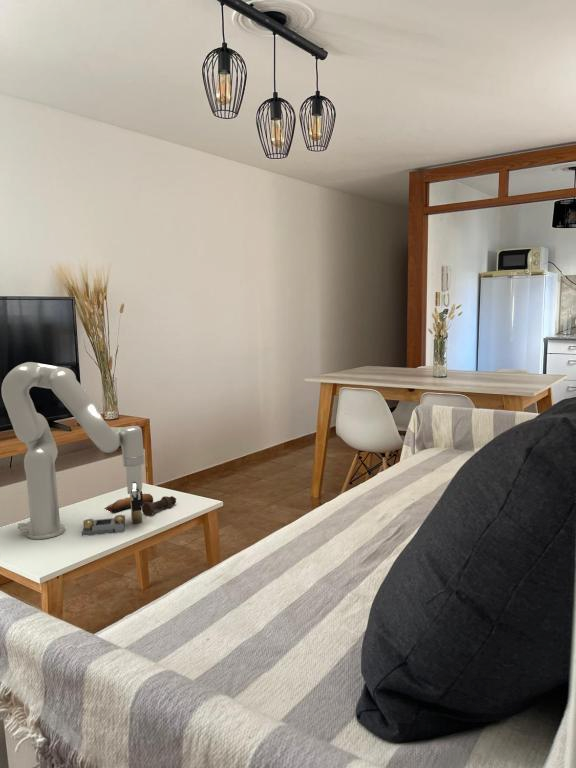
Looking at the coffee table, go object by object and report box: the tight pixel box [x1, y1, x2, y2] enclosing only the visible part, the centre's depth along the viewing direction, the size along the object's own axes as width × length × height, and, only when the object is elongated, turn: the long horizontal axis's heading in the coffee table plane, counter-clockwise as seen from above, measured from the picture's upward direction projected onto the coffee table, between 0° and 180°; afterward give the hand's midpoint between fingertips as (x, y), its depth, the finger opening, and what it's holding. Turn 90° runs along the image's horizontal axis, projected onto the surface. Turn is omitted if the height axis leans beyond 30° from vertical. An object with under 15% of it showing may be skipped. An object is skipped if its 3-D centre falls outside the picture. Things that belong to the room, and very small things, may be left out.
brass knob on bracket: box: [81, 514, 126, 537], centre depth 207 cm, size 14×7×4 cm, turn 101°
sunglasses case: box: [103, 493, 154, 514], centre depth 233 cm, size 18×7×7 cm
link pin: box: [129, 493, 143, 525], centre depth 213 cm, size 4×4×13 cm
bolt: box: [141, 495, 177, 517], centre depth 227 cm, size 6×5×15 cm
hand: (137, 506), depth 214 cm, fingers open, 9 cm apart
